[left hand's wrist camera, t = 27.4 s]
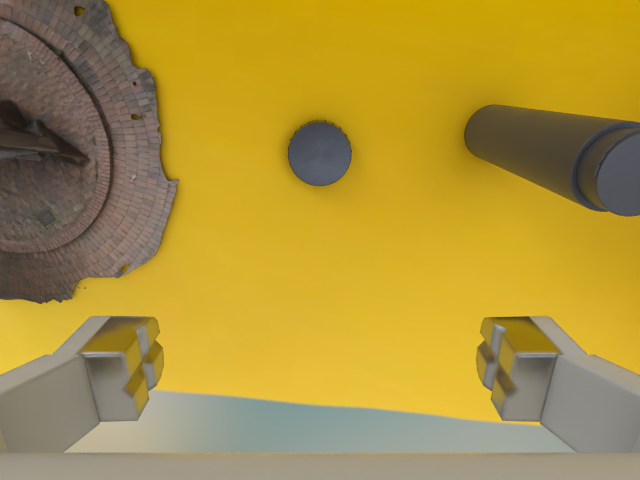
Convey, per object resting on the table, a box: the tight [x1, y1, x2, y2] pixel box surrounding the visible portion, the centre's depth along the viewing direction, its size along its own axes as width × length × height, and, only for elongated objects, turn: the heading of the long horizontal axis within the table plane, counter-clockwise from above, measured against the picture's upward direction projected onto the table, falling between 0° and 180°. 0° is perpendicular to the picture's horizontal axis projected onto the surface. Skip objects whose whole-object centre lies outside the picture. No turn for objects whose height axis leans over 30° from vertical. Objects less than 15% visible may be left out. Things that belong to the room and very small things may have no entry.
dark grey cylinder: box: [465, 105, 640, 216], centre depth 29 cm, size 5×5×19 cm
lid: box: [288, 120, 352, 186], centre depth 37 cm, size 6×6×2 cm
